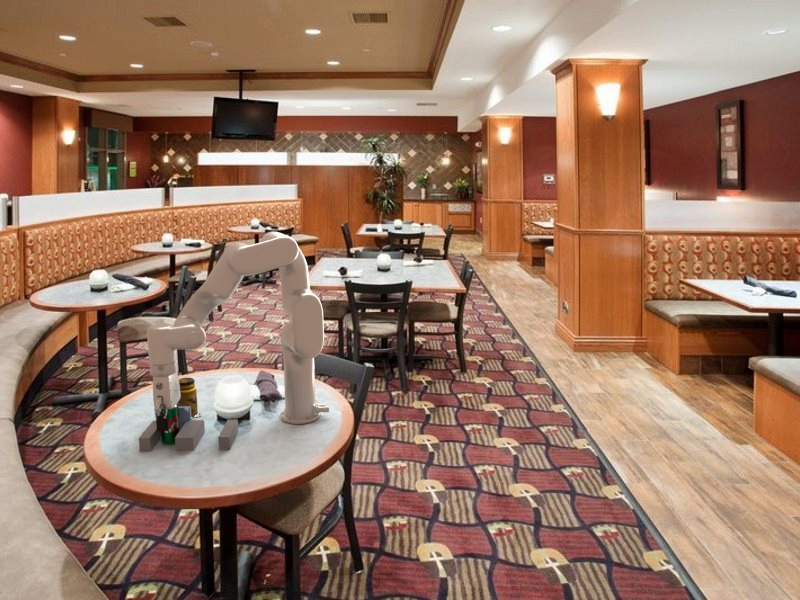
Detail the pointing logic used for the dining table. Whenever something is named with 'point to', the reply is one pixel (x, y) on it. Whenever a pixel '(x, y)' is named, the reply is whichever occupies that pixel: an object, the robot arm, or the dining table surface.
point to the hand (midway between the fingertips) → (168, 423)
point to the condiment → (188, 395)
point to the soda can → (171, 426)
